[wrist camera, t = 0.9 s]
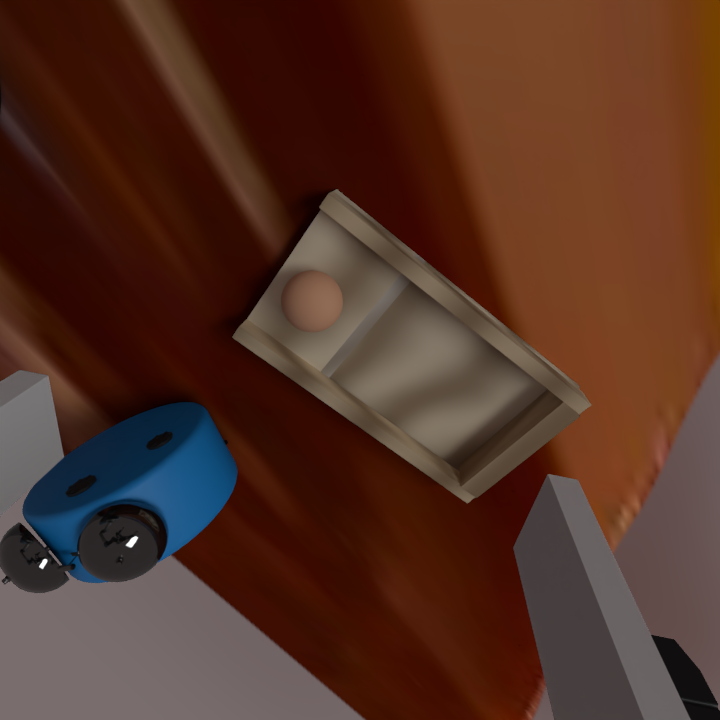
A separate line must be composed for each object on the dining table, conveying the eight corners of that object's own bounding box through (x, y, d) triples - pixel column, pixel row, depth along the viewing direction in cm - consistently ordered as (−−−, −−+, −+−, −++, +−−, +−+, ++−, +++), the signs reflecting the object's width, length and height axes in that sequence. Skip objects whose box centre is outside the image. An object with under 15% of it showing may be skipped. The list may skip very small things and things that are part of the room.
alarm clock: (139, 469, 42) (6, 622, 29) (104, 415, 40) (-59, 553, 26) (262, 443, 39) (177, 600, 25) (232, 382, 36) (120, 520, 23)
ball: (279, 296, 31) (261, 316, 28) (311, 251, 30) (295, 266, 26) (325, 330, 32) (313, 354, 28) (358, 288, 30) (350, 307, 27)
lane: (246, 323, 34) (230, 338, 31) (336, 189, 29) (327, 193, 26) (464, 479, 38) (467, 505, 35) (578, 384, 33) (592, 406, 30)
